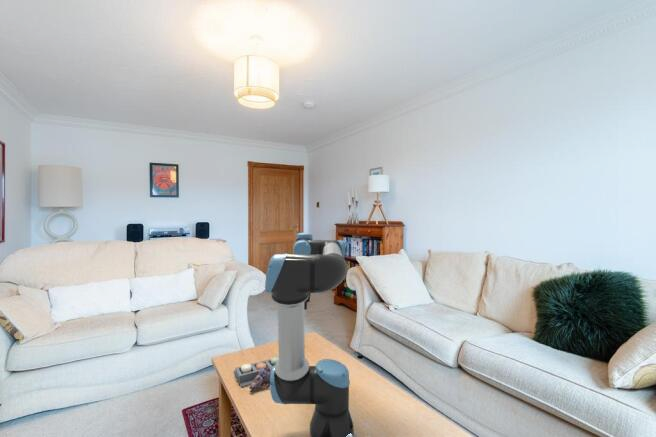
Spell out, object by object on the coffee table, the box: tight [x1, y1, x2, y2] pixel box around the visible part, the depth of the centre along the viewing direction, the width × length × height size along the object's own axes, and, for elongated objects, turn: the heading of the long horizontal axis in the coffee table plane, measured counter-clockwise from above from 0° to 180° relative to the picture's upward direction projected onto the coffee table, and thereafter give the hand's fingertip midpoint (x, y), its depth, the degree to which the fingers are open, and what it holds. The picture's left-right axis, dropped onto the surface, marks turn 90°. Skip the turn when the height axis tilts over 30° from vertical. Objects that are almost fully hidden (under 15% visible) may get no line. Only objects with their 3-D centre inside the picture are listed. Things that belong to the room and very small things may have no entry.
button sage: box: [270, 356, 279, 366], centre depth 145 cm, size 4×4×2 cm
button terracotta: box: [256, 363, 266, 370], centre depth 141 cm, size 4×4×2 cm
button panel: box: [233, 358, 273, 389], centre depth 141 cm, size 14×22×4 cm, turn 120°
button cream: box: [240, 363, 251, 374], centre depth 138 cm, size 4×4×2 cm
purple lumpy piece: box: [248, 367, 272, 393], centre depth 131 cm, size 12×8×6 cm, turn 138°
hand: (303, 315), depth 143 cm, fingers closed
